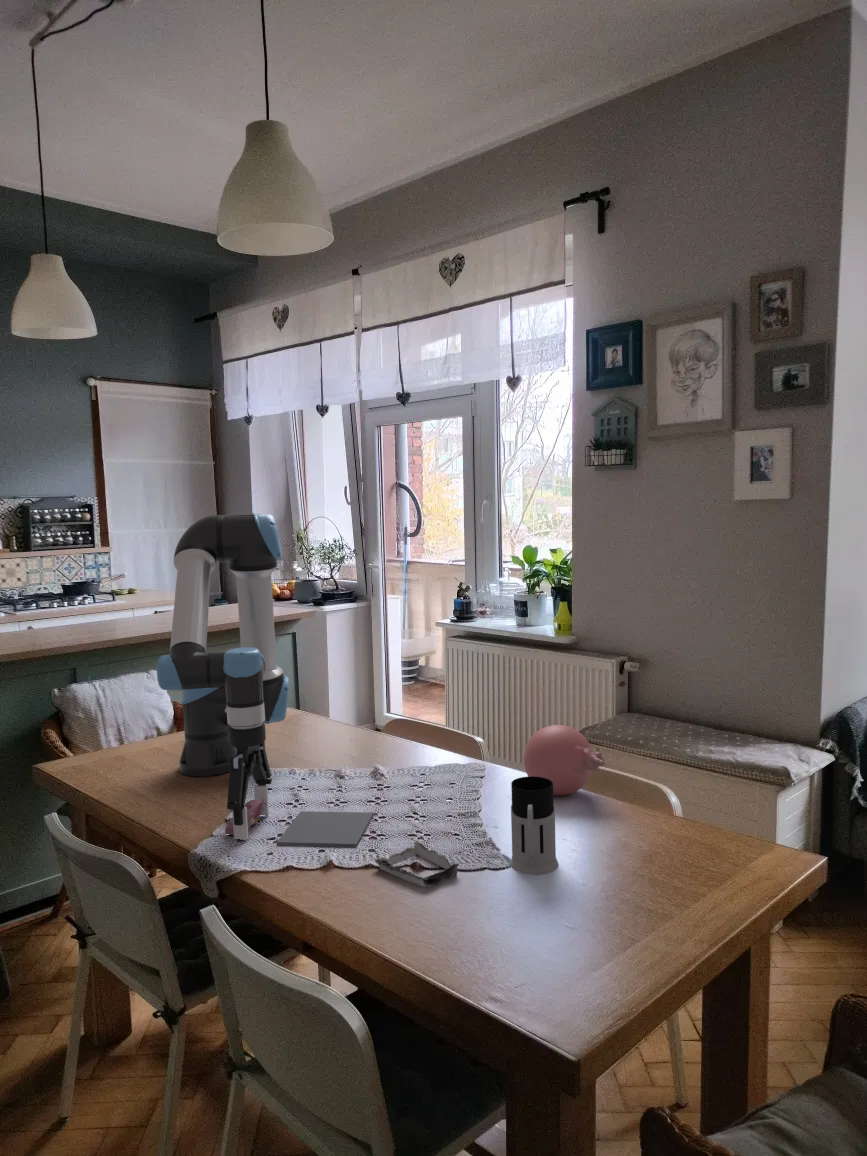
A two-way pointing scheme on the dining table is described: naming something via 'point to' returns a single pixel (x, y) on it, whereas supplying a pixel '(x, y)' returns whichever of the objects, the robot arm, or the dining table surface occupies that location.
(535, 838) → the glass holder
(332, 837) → the charcoal mat
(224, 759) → the robot arm
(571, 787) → the balloon
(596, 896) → the dining table surface
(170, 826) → the dining table surface
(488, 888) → the dining table surface
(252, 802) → the video game controller
